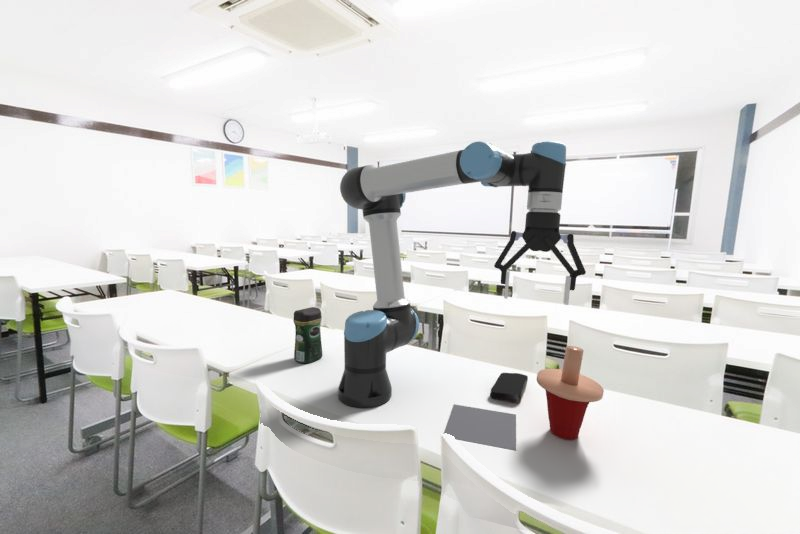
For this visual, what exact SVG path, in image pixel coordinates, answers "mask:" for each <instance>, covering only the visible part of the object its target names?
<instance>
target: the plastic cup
mask: <svg viewBox="0 0 800 534" xmlns="http://www.w3.org/2000/svg"><path fill="white" fill-rule="evenodd" d="M544 390H545V389H544ZM545 396H546V403H547V405H546V406H547V407H546V408H547V414H548V416H547V417H548V421H549V430H550V432H551V434H552V435H554V436H555V437H557V438H559V439H563V440H565V441H566V440H568V441H571V440H572V441H573V440H576V439H578V437H579V436H580V435H579V434H580V430H581V427H582V425H583V422H584V418H585V414H586V411H587V409H588V406H589V404H590V402H580V401H574V400H570V399H566V398H563V397H560V396H557V395H555V394H553V393H550V392H549V391H547V390H545Z"/></svg>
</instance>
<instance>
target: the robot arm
mask: <svg viewBox="0 0 800 534" xmlns="http://www.w3.org/2000/svg"><path fill="white" fill-rule="evenodd" d="M566 160H567V147H566V145H565V144H564V142H563V143H562V142H560V141H553V140H552V141H551V140H550V141H549V140H548V141H547V140H546V141H541V142H536V143H534V144H533V145H532V146H531V150H530V152H527V153H518V154H517V153H516V154H515V153H514V154H512V153H511V154H509V153H507V152H506V151H503V150H502V149H500V148H498V147H496V146H495V145H493V144H492V143H489V142H485V141H480V140H479V141H473V142H471V143H470V144H468V145H467V146H466V147H464V149H459V150H455V151H450V152H445V153H441V154H435V155H431V156H427V157H422V158H417V159H411V160H406V161H402V162H398V163H393V164H387V165H383V166H378V167H376V166H375V165H373V164H368V165H364V166H358V167H354V168H351V169H349V170H348V171H347V172H345V173H344V175H343V176H342V177H341V180H340V185H339V191H340V194H341V197H342V199H343V201H344V202H345V203H346V204H347V205H348V206H349V207H352V208H353V209H357V210H362V216H363V219H364V220H365V221H366V222H367V223H368V227H369V234H370V235H369V236H370V244H371V247H370V248H371V254H372V255H371V257H372V263H373V264H372V265H373V274H374V283H375V292H376V302H375V303H374V304H373V305H372V308H373V309H367V310H360V311H357V312H354V313H352V314H350V315H349V316H348V317H347V318H346V319H345V323H344V330H343V336H344V339H343V340H344V370H343V373H342V375H341V379H340V382H339V385H338V388H337V394H338V395H337V396H338V399H339V401H340V402H341V403H342V404H344V405H346V406H349V407H354V408H359V409H360V408H374V407H378V406H382V405H384V404H386V403H387V402H389V401H390V399H392V392H393V391H392V388H393V387H392V384H391V380H390V378H389V377H390V376H389V374H388V370H387V353H390V352H391V351H394V350H396V349H398V348H401V347H403V346H406V345H408V344H409V343H410V342H412V341H413V340H414V339H415V337H417V336H418V335H417V334H418V333H419V329H420V322H419V321H420V319H419V317H418V315H417V313H416V312H415V311H414V309H413V308H411V301H410V300H409V299H407V298H406V296H405V288H404V279H403V278H404V277H403V269H402V259H401V251H400V241H399V230H398V219H399V218H400V217H401V215H402V213H401V208H402V207H403V204H404V203H405V201H406V195H407V194H406V193H414V192H419V191H427V190H432V189H433V190H435V189H438V188H439V189H441V188H444V187H445V188H446V187H452V186H453V187H454V186H458V185H465V184H474V183H479V182H480V184H481V186H484V187H491V188H500V187H519V186H520V187H528V190H527V200H526V210H528V212H527V213H526V214H525V225H524V230H523V232H519V231H516V230H513V231H511V232H510V237H509V240H508V242H507V244H506V245H505V247H504V248H503V250H502V252H501V253H500V255H499V257H498V258H497V260H496V262H495V263H494V265H493V266H494V268H495V269H498V270H500V272H501V273H500V283H501V285H505V286H504V294H503V295H504V296H503V297H504V298H503V299H508V297H509V285H510V284H509V283H510V274H511V273H510V270H508V269H510V268H511V266H513V264H515V263H516V262H517V261H518V260H519V259H520V258H521V257H522V256H523V255H524V254H525V253H526V252H527V251H529V249H530V251H532V252H545V253H547V252H550V251H551V252H552V253H553V254H554V255H555V257H556V259H558V261H559V262H560V263H561V265H562V266H563V267H564V269H565V270H566V271H567V272H568V273H569V275H566V276H565V283H564V293H563V300H562V301H563V304H564V305H565V306H569V303H570V301H569V299H570V291H575V289H576V282H577V281H576V280H577V277H579V276H584V275H585V274H586V272H587V271H586V269H585V267H584V264H583V262H582V260H581V258H580V256H579V253H578V251H577V248H576V246H575V241H574V240H575V238H574V234H573V233H567V234H560V226H561V225H560V223H561V214H560V212H559V211H561V210H562V205H563V204H562V200H563V191H564V190H563V189H564V182H565V174H566V173H565V172H566V168H567V167H566V166H567V163H566V162H567V161H566ZM520 238H521V239H523V241H524V242H525V244H524V245H523V246H522V247H521V248H520V249H519V250H518V251H517V252H516V253H514V255H513V256H512V257H510V259H509V260H508V261H506V262H505V263H504V264H502V263H503V261H504V260H505V258H506V256H507V255H508V254H509V252H510V250H511V249H512V248H513V245H514V243H515V241H518V240H520ZM560 240H562V241H563V243H564V244H566V246H567V249H568V251H569V253H570V256H571V258H572V261H573V263H574V265H575V267H576V269H574V268H573V267H572V265H570V263H569V262H568V260H567V259H566V258H565V256H564V255H563V254H562V252H561V251H560V250H559V249H558V247H557V246H556V245H557V244H558V243H559V242H560Z"/></svg>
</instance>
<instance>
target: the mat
mask: <svg viewBox="0 0 800 534" xmlns="http://www.w3.org/2000/svg"><path fill="white" fill-rule="evenodd" d="M444 433H447V434H450V435H452V436H454V437H455V439H454V440H459V441H463V442H469V443H473V444H474V443H475V444H479V445H480V444H481V445H486V446H488V447H489V446H491V447H496V448H501V449H506V450H509V451H514V452H515V451H517V414H515V413H509V412H504V411H497V410H491V409H485V408H484V409H483V408H478V407H472V406H467V405H466V406H465V405H461V404H460V405H459V404H453V405H452V408H451V411H450V414H449V418H448V420H447V423H446V425H445V427H444V431H443V434H444Z"/></svg>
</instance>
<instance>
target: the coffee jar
mask: <svg viewBox="0 0 800 534" xmlns="http://www.w3.org/2000/svg"><path fill="white" fill-rule="evenodd" d="M322 316H323V315H322V312H321V309H320V308H319V307H313V306H311V307H307V308H302V309H298V310H295V311H294V312H293V321H292V322H293V323H294V326H295V327H294V328H295V336H294V337H295V341H294V350H293V351H294V353H293V358H294V360H295V362H297V363H300V364H309V363H312V362H315V361H318V360H320V359H321V358H322V357H323V347H322V346H323V345H322V337H321V336H322V335H321V333H322V332H321V324H322V323H321V322H322V319H323V318H322Z"/></svg>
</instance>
